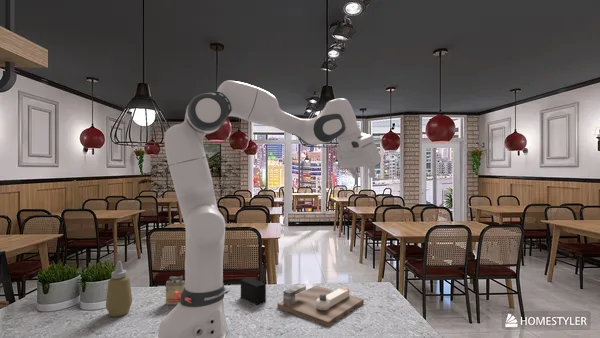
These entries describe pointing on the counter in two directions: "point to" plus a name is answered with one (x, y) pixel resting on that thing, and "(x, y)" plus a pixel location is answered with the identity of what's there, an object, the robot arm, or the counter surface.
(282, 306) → the pivot base
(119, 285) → the squeeze bottle
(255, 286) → the digital camera
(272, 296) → the counter surface
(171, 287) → the small jar
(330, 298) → the link
